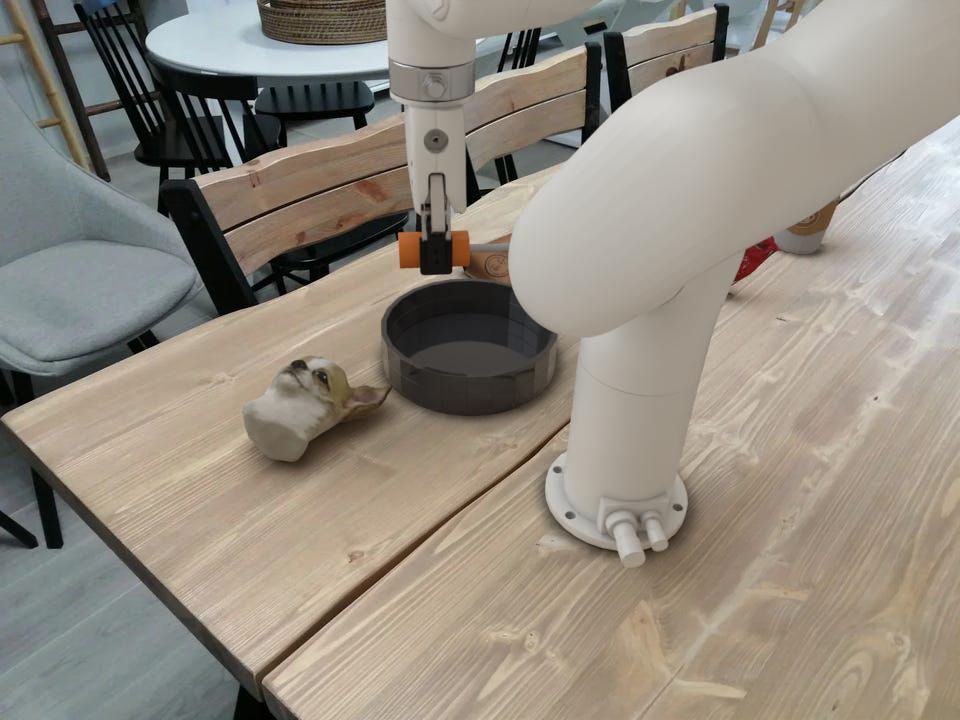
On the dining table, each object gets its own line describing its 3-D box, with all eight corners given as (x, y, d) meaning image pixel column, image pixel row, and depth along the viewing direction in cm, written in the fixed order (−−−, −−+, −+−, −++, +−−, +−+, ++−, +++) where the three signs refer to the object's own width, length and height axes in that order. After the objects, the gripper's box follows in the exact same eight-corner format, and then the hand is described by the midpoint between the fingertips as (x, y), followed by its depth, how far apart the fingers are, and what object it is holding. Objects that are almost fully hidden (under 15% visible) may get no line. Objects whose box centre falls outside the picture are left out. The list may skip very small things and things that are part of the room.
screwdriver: (400, 275, 74) (398, 243, 72) (399, 257, 77) (397, 226, 75) (539, 270, 75) (542, 238, 73) (534, 253, 78) (536, 222, 76)
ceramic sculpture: (199, 377, 65) (312, 309, 76) (213, 452, 70) (318, 377, 81) (291, 420, 61) (397, 341, 72) (299, 496, 66) (397, 411, 77)
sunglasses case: (504, 294, 94) (487, 243, 92) (472, 299, 99) (456, 251, 98) (597, 251, 104) (583, 205, 102) (564, 258, 109) (550, 214, 108)
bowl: (570, 409, 77) (575, 371, 74) (384, 420, 75) (381, 381, 72) (538, 310, 92) (541, 275, 89) (383, 317, 90) (380, 281, 87)
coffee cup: (760, 249, 106) (788, 147, 97) (771, 227, 112) (798, 129, 103) (821, 263, 103) (856, 160, 94) (829, 239, 109) (862, 140, 100)
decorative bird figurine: (763, 310, 93) (784, 238, 87) (626, 278, 99) (637, 209, 93) (766, 299, 95) (787, 229, 89) (632, 269, 101) (643, 200, 95)
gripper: (486, 108, 58) (480, 305, 69) (465, 52, 72) (463, 225, 83) (390, 109, 58) (400, 308, 69) (387, 53, 71) (396, 227, 82)
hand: (434, 261), depth 75 cm, fingers closed on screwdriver, 3 cm apart
